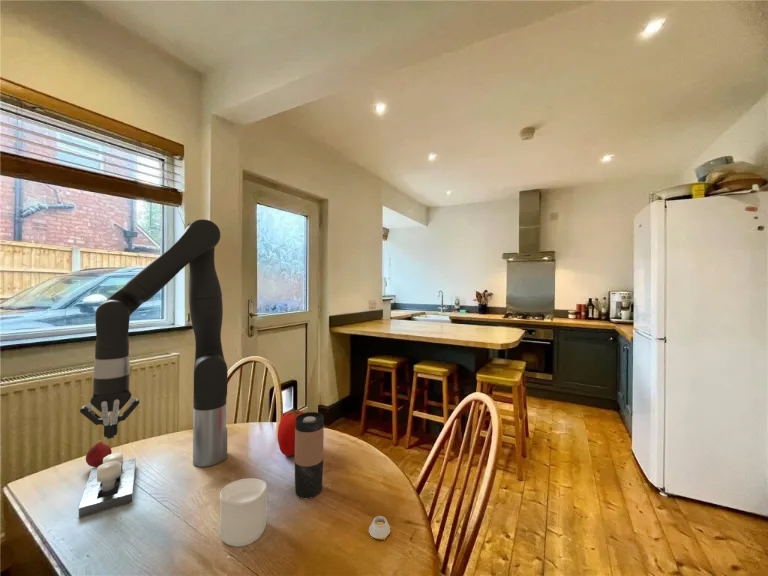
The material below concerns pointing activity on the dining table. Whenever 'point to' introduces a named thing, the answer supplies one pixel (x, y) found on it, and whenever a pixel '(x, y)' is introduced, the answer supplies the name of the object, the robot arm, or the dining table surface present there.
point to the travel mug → (309, 454)
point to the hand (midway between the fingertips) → (110, 437)
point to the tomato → (288, 432)
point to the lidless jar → (379, 527)
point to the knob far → (114, 458)
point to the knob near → (108, 474)
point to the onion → (97, 454)
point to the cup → (243, 511)
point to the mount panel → (106, 500)
